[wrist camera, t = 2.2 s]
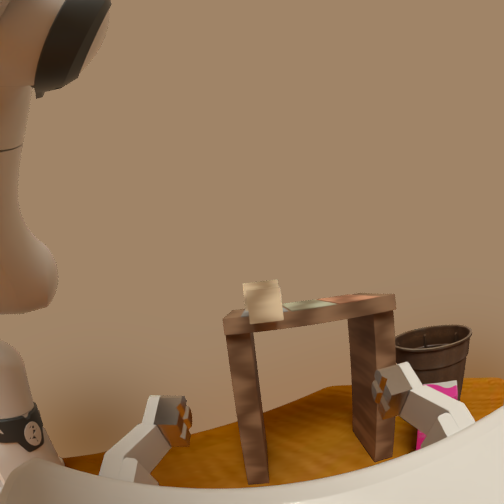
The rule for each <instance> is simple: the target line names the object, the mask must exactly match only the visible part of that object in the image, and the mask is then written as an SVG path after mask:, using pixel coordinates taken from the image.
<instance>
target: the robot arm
mask: <svg viewBox="0 0 504 504" xmlns="http://www.w3.org/2000/svg"><path fill="white" fill-rule="evenodd" d="M110 6H111V1H110V0H0V314H23V313H27V312H31V311H35V310H38V309H42V308H45V307H47V306H48V305H49V304H50V302H51V301H52V299H53V297H54V295H55V293H56V289H57V285H58V270H57V265H56V262H55V259H54V257H53V255H52V253H51V251H50V250H49V249H48V247H47V246H46V245H45V244H43V243H42V242H41V241H39V240H38V239H37V238H36V237H35V236H34V235H33V234H32V233H31V231H30V230H29V229H28V227H27V225H26V224H25V222H24V220H23V217H22V215H21V212H20V208H19V204H18V175H19V165H20V157H21V151H22V145H23V140H24V135H25V130H26V124H27V118H28V113H29V107H30V101H31V94H32V88H35V92H36V99H37V98H41V97H43V95H44V92H46V91H50V90H55V89H59V88H62V87H64V86H65V85H67V84H68V83H70V82H72V81H73V80H75V79H76V78H78V76H79V73H80V72H81V71H82V70H83V69H84V68H85V67H86V66H87V65H88V64H89V63H90V62H91V60H92V59H93V58H94V56H95V55H96V54H97V52H98V50H99V49H100V47H101V45H102V43H103V40H104V38H105V35H106V32H107V29H108V23H109V8H110ZM374 377H375V380H374V381H373V383H372V387H371V390H372V396H373V399H374V401H375V402H376V403H378V404H379V407H378V411H379V413H380V415H381V418H382V420H385V419H388V418H392V417H395V416H399V415H400V417H401V418H403V419H404V420H406V421H407V422H408V423H410V424H411V425H413V426H414V427H415V428H417V429H418V430H419V431H421V432H422V433H424V434H425V435H427V436H426V438H425V439H424V441H423V442H422V444H421V446H420V447H421V449H419V450H416V451H414V452H411V453H409V454H406V455H403V456H401V457H398V458H395V459H392V460H389V461H386V462H383V463H380V464H377V465H373V466H370V467H367V468H363V469H359V470H356V471H352V472H348V473H344V474H340V475H335V476H331V477H326V478H321V479H316V480H310V481H304V482H298V483H291V484H283V485H275V486H265V487H252V488H230V489H201V488H180V487H167V486H158V484H159V483H158V482H157V481H156V480H155V479H154V478H153V477H152V476H151V475H150V473H151V471H152V470H153V469H154V468H155V467H156V465H157V464H158V463H159V462H160V460H161V459H162V458H163V457H164V456H165V454H166V453H167V452H168V451H169V449H170V448H171V447H189V446H190V437H191V434H190V432H189V428H190V427H191V426H192V413H191V410H190V408H189V406H187V405H186V402H187V400H186V399H185V396H159V395H150V397H149V398H148V401H147V405H146V409H145V413H144V416H143V420H142V424H138V425H137V426H136V427H135V428H133V429H132V430H131V431H130V432H129V433H128V434H127V435H125V436H124V437H123V438H122V439H121V440H120V441H119V442H117V443H116V444H115V445H114V446H113V447H112V448H111V449H109V450H108V451H107V452H106V453H105V455H104V459H103V462H102V465H101V469H100V472H99V476H98V475H94V474H90V473H86V472H82V471H78V470H75V469H71V468H68V467H65V464H64V461H63V459H62V458H61V457H59V456H58V455H57V453H56V451H55V449H54V447H53V445H52V443H51V440H50V438H49V436H48V434H47V432H46V430H45V428H44V427H43V423H42V420H41V417H40V412H39V410H38V408H37V405H36V403H34V402H33V399H32V395H31V391H30V387H29V383H28V379H27V375H26V370H25V365H24V361H23V359H22V357H21V355H20V354H19V352H18V351H17V350H16V349H15V348H14V347H13V346H11V345H10V344H8V343H6V342H4V341H3V340H1V339H0V504H504V405H503V406H502V407H500V408H499V409H497V410H495V411H494V412H492V413H491V414H489V415H487V416H486V417H484V418H482V419H480V420H479V421H477V422H475V420H474V419H473V417H472V415H471V414H470V412H469V411H468V409H467V407H466V406H465V404H464V403H462V402H460V401H458V400H455V399H453V398H451V397H449V396H447V395H445V394H443V393H441V392H439V391H437V390H435V389H433V388H431V387H429V386H427V385H424V386H423V385H422V383H421V382H420V380H419V378H418V377H417V375H416V374H415V372H414V370H413V369H412V367H411V366H410V364H409V363H408V362H404V363H400V364H397V365H392V366H389V367H385V368H382V369H378V370H376V371H375V374H374Z"/></svg>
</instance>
